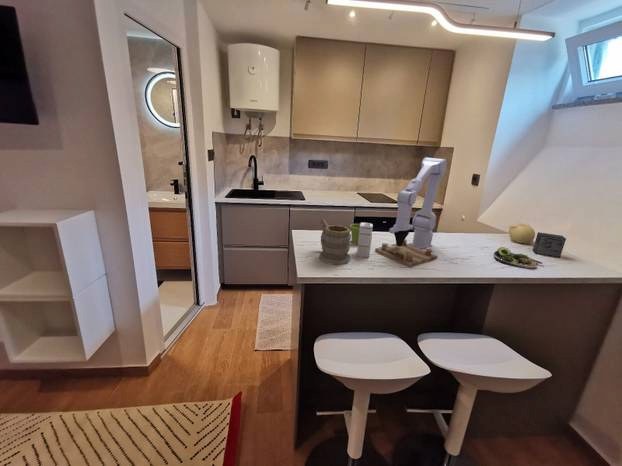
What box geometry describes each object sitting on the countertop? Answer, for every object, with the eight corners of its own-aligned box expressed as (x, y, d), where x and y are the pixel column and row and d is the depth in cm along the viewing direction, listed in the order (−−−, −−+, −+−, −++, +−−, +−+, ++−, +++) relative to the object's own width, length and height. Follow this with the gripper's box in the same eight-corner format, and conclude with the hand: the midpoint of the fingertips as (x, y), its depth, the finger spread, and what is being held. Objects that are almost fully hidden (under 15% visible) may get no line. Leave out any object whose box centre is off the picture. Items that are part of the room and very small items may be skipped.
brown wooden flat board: (401, 244, 149) (403, 237, 148) (436, 258, 134) (438, 250, 133) (374, 251, 138) (376, 243, 137) (409, 267, 123) (411, 258, 121)
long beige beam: (380, 248, 137) (381, 243, 136) (383, 247, 139) (384, 242, 138) (402, 256, 128) (403, 251, 128) (405, 255, 130) (406, 250, 129)
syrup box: (369, 257, 130) (373, 226, 126) (356, 255, 131) (359, 225, 127) (369, 252, 136) (373, 223, 131) (356, 251, 137) (360, 221, 132)
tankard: (354, 262, 124) (358, 229, 119) (329, 266, 118) (332, 231, 114) (331, 246, 141) (333, 216, 136) (308, 249, 135) (310, 218, 130)
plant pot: (353, 238, 155) (355, 222, 152) (369, 242, 150) (371, 226, 147) (345, 242, 147) (346, 226, 145) (361, 247, 142) (363, 230, 140)
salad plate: (539, 260, 140) (541, 252, 139) (545, 274, 125) (548, 264, 124) (493, 251, 149) (495, 243, 148) (494, 262, 134) (496, 253, 133)
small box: (556, 254, 150) (562, 235, 147) (560, 258, 144) (567, 238, 141) (531, 250, 154) (537, 231, 151) (534, 254, 148) (541, 234, 145)
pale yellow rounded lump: (519, 238, 173) (525, 221, 170) (537, 245, 162) (543, 227, 158) (502, 238, 171) (507, 220, 168) (519, 245, 160) (524, 227, 157)
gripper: (406, 213, 136) (401, 240, 141) (385, 217, 128) (381, 245, 133) (419, 217, 131) (414, 245, 135) (398, 221, 123) (393, 250, 127)
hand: (398, 245), depth 134 cm, fingers closed
